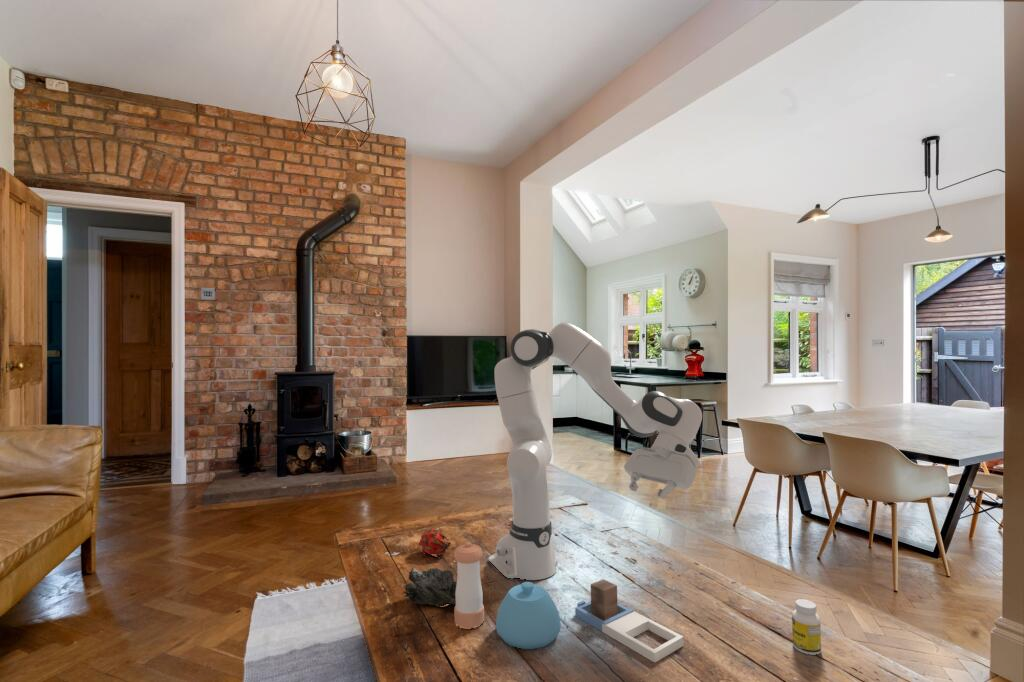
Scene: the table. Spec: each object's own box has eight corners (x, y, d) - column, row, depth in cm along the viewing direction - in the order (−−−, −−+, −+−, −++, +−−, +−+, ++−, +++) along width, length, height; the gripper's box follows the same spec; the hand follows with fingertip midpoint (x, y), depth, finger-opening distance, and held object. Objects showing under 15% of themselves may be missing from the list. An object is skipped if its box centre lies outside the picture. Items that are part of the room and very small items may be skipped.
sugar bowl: (511, 660, 110) (510, 605, 110) (486, 625, 124) (485, 577, 124) (572, 643, 116) (571, 591, 116) (542, 612, 130) (541, 565, 130)
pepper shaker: (456, 613, 130) (455, 537, 130) (485, 613, 129) (484, 536, 130) (452, 629, 122) (451, 548, 122) (483, 629, 122) (481, 548, 122)
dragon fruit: (424, 552, 172) (446, 568, 164) (407, 544, 167) (430, 560, 159) (437, 529, 175) (460, 543, 167) (422, 520, 170) (445, 534, 162)
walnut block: (591, 617, 127) (590, 584, 127) (604, 611, 130) (603, 579, 130) (604, 624, 123) (604, 591, 124) (617, 618, 126) (617, 585, 126)
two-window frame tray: (573, 614, 128) (573, 604, 128) (601, 602, 134) (601, 592, 134) (654, 662, 108) (654, 651, 108) (683, 645, 114) (683, 634, 114)
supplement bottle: (787, 642, 115) (786, 598, 115) (810, 640, 115) (809, 596, 116) (803, 656, 110) (801, 610, 110) (827, 655, 110) (826, 608, 110)
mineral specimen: (400, 596, 128) (414, 554, 134) (399, 600, 139) (412, 561, 145) (458, 614, 129) (470, 572, 134) (453, 617, 140) (464, 577, 145)
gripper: (633, 439, 150) (610, 478, 144) (695, 449, 133) (672, 494, 127) (643, 452, 152) (621, 491, 146) (705, 464, 136) (684, 509, 130)
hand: (645, 493), depth 137 cm, fingers open, 8 cm apart
